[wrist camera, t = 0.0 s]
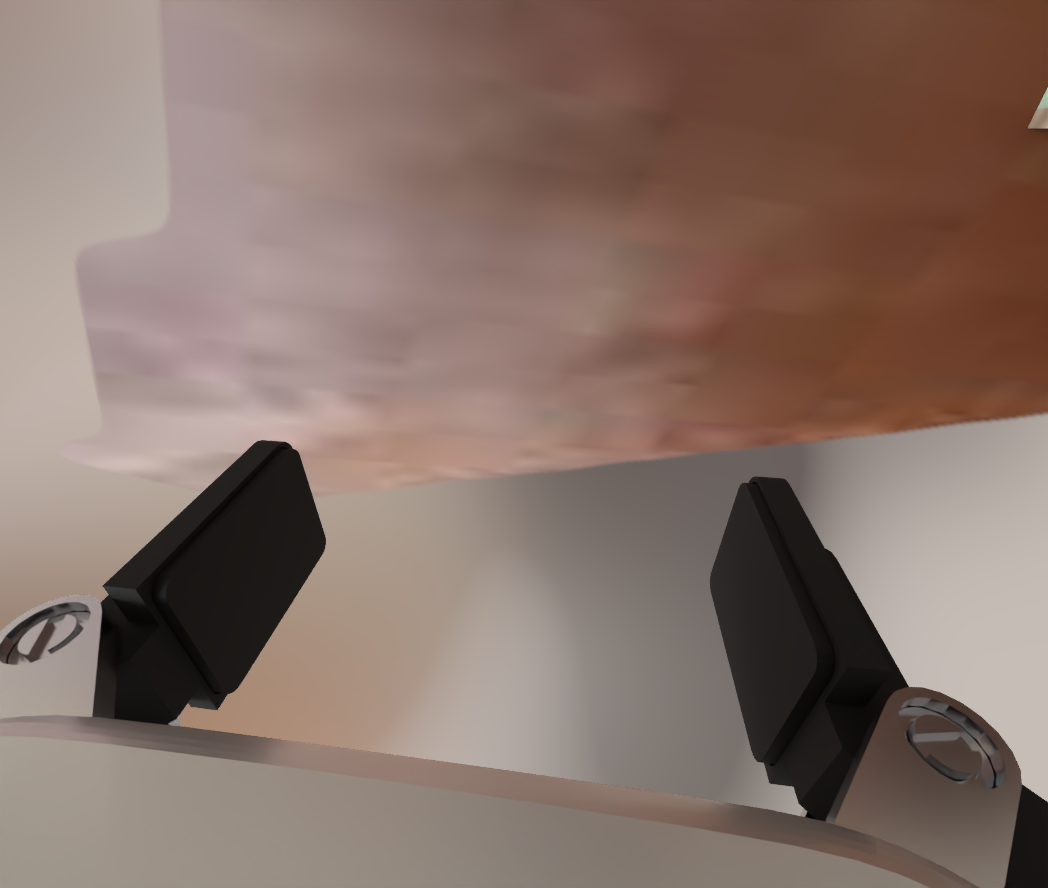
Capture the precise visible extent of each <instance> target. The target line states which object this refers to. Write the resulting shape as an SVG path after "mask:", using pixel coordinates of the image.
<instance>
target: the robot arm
mask: <svg viewBox="0 0 1048 888" xmlns="http://www.w3.org/2000/svg"><path fill="white" fill-rule="evenodd" d="M325 545H326V538H325V534H324V531H323V528H322V525H321V522H320V518H319V515H318V512H317V509H316V506H315V502H314V499H313V496H312V493H311V490H310V487H309V483H308V480H307V477H306V474H305V471H304V467H303V464H302V461H301V458H300V455H299V453H298V451H297V450H294V449H293V448H292V446H291V445H290V444H289V443H287V442H279V441H265V440H261V441H257V442H256V443H254V444H253V445H252V446H251V447H250V448H249V449H248V450H247V451H246V452H245V453H244V454H243V455H242V456H241V457H240V458H238V459H237V460H236V461H235V462H234V463H233V464H232V465H231V466H230V467H229V468H228V469H227V470H226V471H225V472H224V473H222V474H221V475H220V476H219V477H218V478H217V479H216V480H215V481H214V482H213V483H212V484H211V485H210V486H209V487H208V488H206V489H205V490H204V491H203V492H202V493H201V494H200V495H199V496H198V497H197V498H196V499H195V500H194V501H193V502H192V503H190V505H188V506H187V507H186V508H185V509H184V510H183V511H182V512H181V513H180V514H179V515H178V516H177V517H176V518H174V519H173V521H171V522H170V523H169V524H168V525H167V526H166V527H165V528H164V529H163V530H162V531H161V532H159V533H158V534H157V536H155V537H154V538H153V539H152V540H151V541H150V542H149V543H148V544H147V545H146V546H145V547H144V548H142V549H141V550H140V551H139V552H138V553H137V554H136V555H135V556H134V557H133V558H132V559H131V560H130V561H129V562H128V563H126V564H125V565H124V566H123V567H122V568H121V569H120V570H119V571H118V572H117V573H116V574H115V575H114V576H113V577H111V578H110V579H109V581H107V582H106V583H105V584H104V585H103V587H104V588H105V590H106V591H107V593H108V594H109V595H108V596H107V597H106V598H105V599H104V600H103V601H102V602H99V601H98V600H97V599H96V598H94V597H92V596H88V595H71V596H66V597H62V598H58V599H54V600H51V601H49V602H47V603H45V604H42V605H40V606H37V607H35V608H33V609H31V610H30V611H28V612H26V613H25V614H23V615H21V616H19V617H18V618H17V619H15V620H14V621H13V622H12V623H10V624H9V625H7V626H6V627H5V628H4V629H3V630H2V631H1V632H0V888H1048V802H1047V801H1045V800H1044V799H1042V798H1041V797H1039V796H1038V795H1037V794H1035V793H1034V792H1032V791H1031V790H1029V789H1028V788H1026V787H1025V786H1024V785H1022V783H1021V771H1020V768H1019V766H1018V763H1017V761H1016V759H1015V757H1014V754H1013V752H1012V751H1011V749H1010V748H1009V747H1008V745H1007V744H1006V743H1005V741H1004V740H1003V739H1002V738H1001V736H1000V735H999V733H998V732H997V731H996V730H995V729H993V728H992V727H991V726H990V725H989V724H988V723H987V722H986V721H985V720H984V719H983V718H982V717H981V716H979V715H978V714H977V713H975V712H974V711H972V710H971V709H969V708H968V707H967V706H965V705H964V704H962V703H961V702H959V701H957V700H955V699H952V698H950V697H949V696H947V695H944V694H942V693H940V692H936V691H933V690H929V689H926V688H920V687H909V686H908V684H907V683H906V681H905V679H904V677H903V675H902V674H901V672H900V670H899V668H898V667H897V665H896V663H895V661H894V660H893V658H892V656H891V654H890V652H889V651H888V649H887V647H886V645H885V644H884V642H883V640H882V638H881V637H880V635H879V633H878V631H877V630H876V628H875V626H874V624H873V622H872V621H871V619H870V617H869V615H868V614H867V612H866V610H865V608H864V607H863V605H862V603H861V601H860V600H859V598H858V596H857V594H856V593H855V591H854V589H853V587H852V585H851V584H850V582H849V580H848V579H847V576H846V575H845V573H844V571H843V570H842V568H841V566H840V564H839V562H838V561H837V559H836V558H835V556H834V555H833V554H832V552H830V551H829V550H827V549H825V548H824V546H823V545H822V543H821V541H820V539H819V537H818V535H817V534H816V532H815V530H814V528H813V527H812V525H811V523H810V521H809V519H808V517H807V516H806V514H805V512H804V510H803V508H802V506H801V505H800V503H799V501H798V499H797V497H796V496H795V494H794V492H793V490H792V488H791V486H790V485H789V483H788V482H787V481H786V480H785V479H782V478H768V477H752V479H751V480H750V481H749V483H742V484H741V485H740V487H739V489H738V493H737V496H736V499H735V502H734V505H733V508H732V511H731V514H730V517H729V520H728V523H727V526H726V529H725V532H724V535H723V538H722V541H721V545H720V548H719V551H718V554H717V557H716V560H715V563H714V566H713V569H712V572H711V576H710V589H711V594H712V598H713V602H714V606H715V609H716V613H717V617H718V621H719V625H720V629H721V633H722V637H723V641H724V645H725V649H726V653H727V657H728V660H729V664H730V668H731V672H732V676H733V680H734V684H735V687H736V692H737V695H738V699H739V703H740V707H741V711H742V715H743V719H744V723H745V727H746V731H747V735H748V739H749V742H750V746H751V750H752V753H753V756H754V758H755V759H756V760H757V762H763V763H764V764H765V768H766V772H767V776H768V779H769V783H771V784H778V785H785V786H793V787H794V789H795V793H796V796H797V799H798V802H799V804H800V805H801V806H802V807H803V808H804V810H803V812H802V814H801V816H796V815H791V814H787V813H782V812H777V811H773V810H768V809H761V808H755V807H749V806H742V805H736V804H730V803H723V802H717V801H711V800H705V799H699V798H693V797H686V796H680V795H674V794H668V793H662V792H655V791H648V790H641V789H634V788H627V787H619V786H613V785H606V784H599V783H591V782H584V781H577V780H570V779H564V778H556V777H549V776H543V775H536V774H529V773H522V772H514V771H507V770H500V769H493V768H486V767H479V766H471V765H464V764H457V763H449V762H442V761H435V760H428V759H420V758H413V757H406V756H399V755H391V754H384V753H376V752H369V751H362V750H355V749H347V748H340V747H332V746H325V745H317V744H310V743H303V742H295V741H287V740H280V739H272V738H265V737H257V736H249V735H242V734H234V733H226V732H218V731H211V730H203V729H196V728H189V727H180V713H181V712H182V710H183V709H184V707H185V706H186V705H187V703H189V705H190V706H191V707H197V708H205V709H212V710H218V708H219V707H220V705H221V704H222V702H223V701H224V699H225V697H226V696H227V694H230V693H232V692H234V691H235V690H236V689H237V688H238V687H239V685H240V684H241V682H242V681H243V679H244V678H245V676H246V675H247V673H248V671H249V670H250V668H251V666H252V665H253V663H254V662H255V660H256V659H257V657H258V656H259V654H260V652H261V651H262V649H263V648H264V646H265V644H266V643H267V641H268V640H269V638H270V637H271V635H272V633H273V632H274V630H275V628H276V627H277V625H278V624H279V622H280V621H281V619H282V618H283V616H284V614H285V613H286V611H287V610H288V608H289V606H290V605H291V603H292V602H293V600H294V598H295V597H296V595H297V594H298V592H299V590H300V589H301V587H302V586H303V584H304V583H305V581H306V580H307V578H308V576H309V575H310V573H311V572H312V570H313V568H314V567H315V565H316V564H317V562H318V561H319V559H320V557H321V556H322V554H323V552H324V549H325Z"/></svg>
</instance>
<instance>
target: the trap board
mask: <svg viewBox="0 0 1048 888" xmlns="http://www.w3.org/2000/svg"><path fill="white" fill-rule="evenodd" d="M1028 128H1048V88H1047V90H1046V92H1045V94H1044V96H1043V98H1042V100H1041V102H1040V104H1039V106H1038V108H1037V110H1036V112H1035V114H1034V116H1033V118H1032V120H1031V122H1030V124H1029V126H1028Z"/></svg>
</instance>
